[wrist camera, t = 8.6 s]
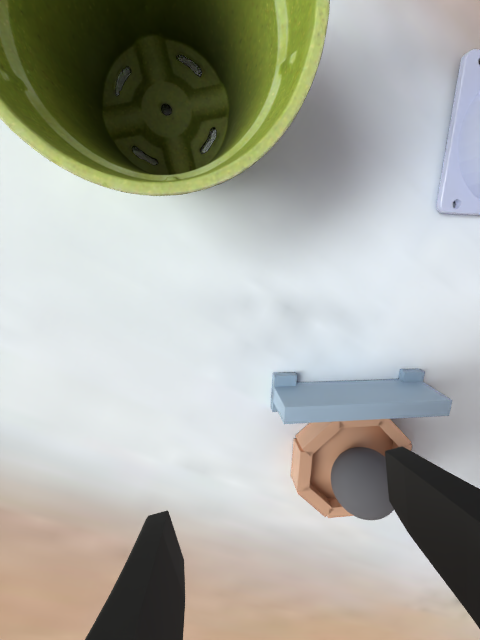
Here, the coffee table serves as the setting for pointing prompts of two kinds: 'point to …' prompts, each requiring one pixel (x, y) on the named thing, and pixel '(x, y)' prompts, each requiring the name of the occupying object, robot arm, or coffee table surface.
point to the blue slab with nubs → (356, 399)
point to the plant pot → (156, 84)
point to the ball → (361, 483)
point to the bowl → (323, 449)
